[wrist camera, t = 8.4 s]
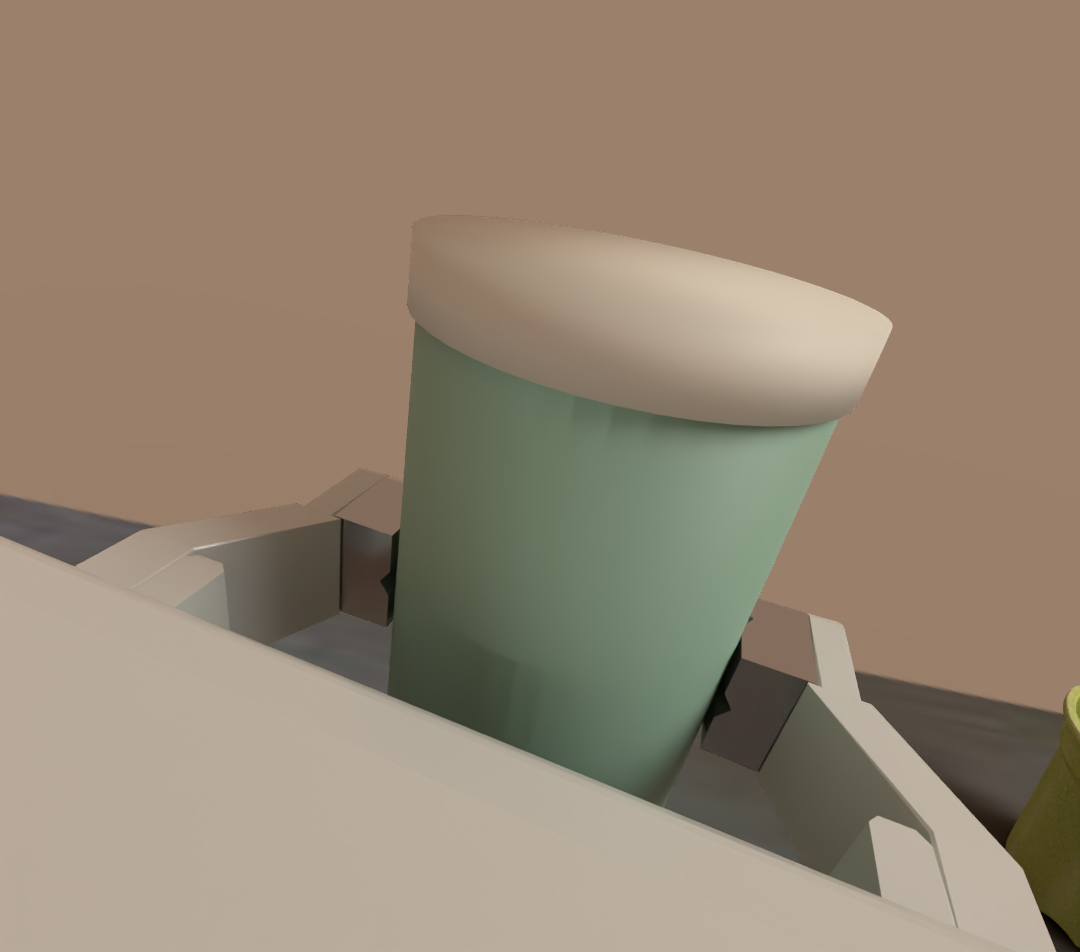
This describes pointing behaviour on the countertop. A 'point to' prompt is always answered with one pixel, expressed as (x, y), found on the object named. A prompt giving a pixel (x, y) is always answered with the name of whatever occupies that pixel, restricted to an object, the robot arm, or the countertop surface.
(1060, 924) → the plant pot
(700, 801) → the countertop surface
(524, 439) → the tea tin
